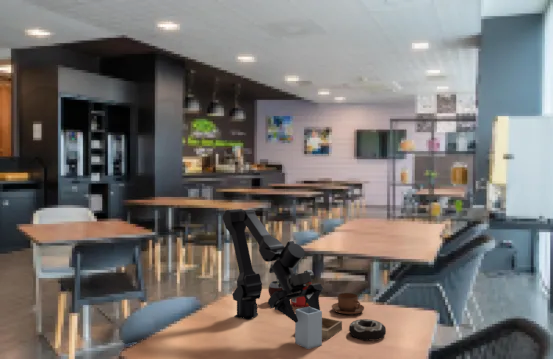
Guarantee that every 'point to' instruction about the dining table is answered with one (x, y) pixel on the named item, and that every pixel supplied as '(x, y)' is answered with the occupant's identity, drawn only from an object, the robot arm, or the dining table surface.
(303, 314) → the tall grey bin
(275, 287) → the mate gourd
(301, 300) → the canned food
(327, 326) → the shallow brown tray
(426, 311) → the dining table surface
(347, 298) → the cup and saucer
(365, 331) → the donut
